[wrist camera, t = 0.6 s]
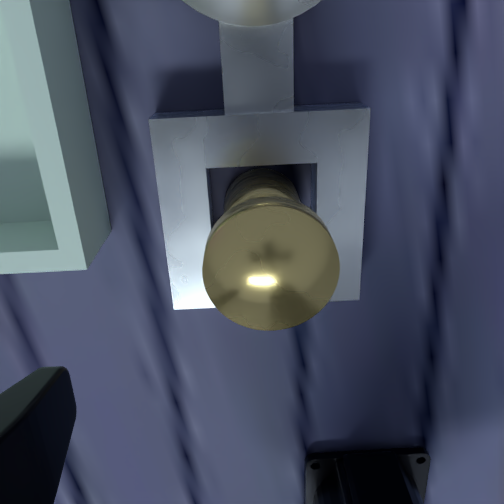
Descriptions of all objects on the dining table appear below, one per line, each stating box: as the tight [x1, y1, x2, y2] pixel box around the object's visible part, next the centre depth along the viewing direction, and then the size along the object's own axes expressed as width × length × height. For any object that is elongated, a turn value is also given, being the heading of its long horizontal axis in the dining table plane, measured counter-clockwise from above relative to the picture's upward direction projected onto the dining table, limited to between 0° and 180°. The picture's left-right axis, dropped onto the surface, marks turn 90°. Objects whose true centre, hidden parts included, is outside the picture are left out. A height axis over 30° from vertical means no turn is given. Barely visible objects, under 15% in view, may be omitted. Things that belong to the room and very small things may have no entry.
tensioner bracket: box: [149, 0, 371, 310], centre depth 16 cm, size 17×8×3 cm, turn 3°
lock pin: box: [202, 168, 340, 330], centre depth 17 cm, size 4×4×6 cm
